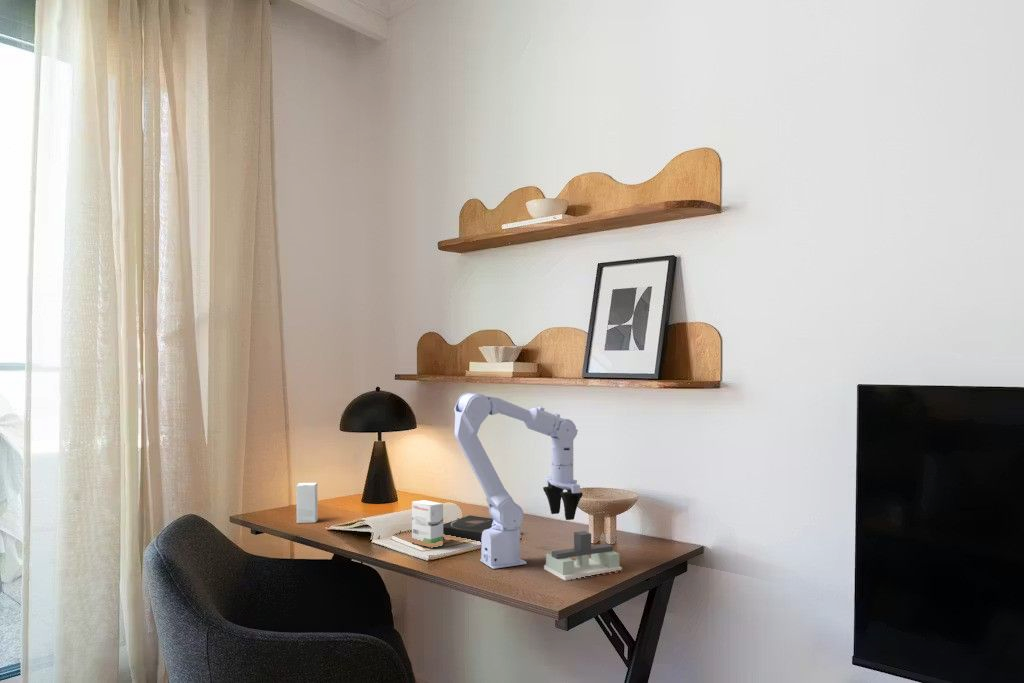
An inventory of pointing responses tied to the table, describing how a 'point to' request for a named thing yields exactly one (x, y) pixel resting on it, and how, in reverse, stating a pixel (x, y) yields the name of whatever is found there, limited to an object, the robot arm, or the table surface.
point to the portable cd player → (468, 527)
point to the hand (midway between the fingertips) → (562, 516)
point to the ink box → (427, 521)
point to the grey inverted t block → (582, 547)
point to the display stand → (582, 565)
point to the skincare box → (306, 502)
